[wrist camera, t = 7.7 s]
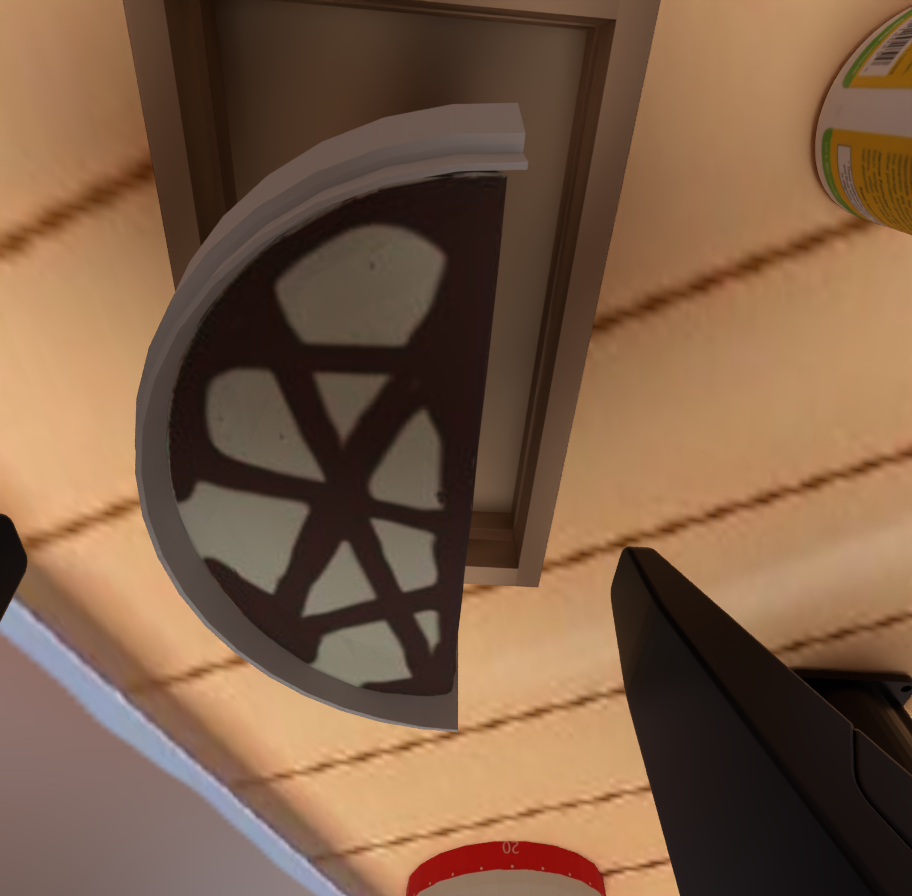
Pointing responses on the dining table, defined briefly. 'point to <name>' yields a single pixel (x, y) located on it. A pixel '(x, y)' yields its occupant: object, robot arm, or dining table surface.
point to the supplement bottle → (871, 129)
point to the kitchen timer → (507, 872)
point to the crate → (408, 90)
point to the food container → (335, 410)
